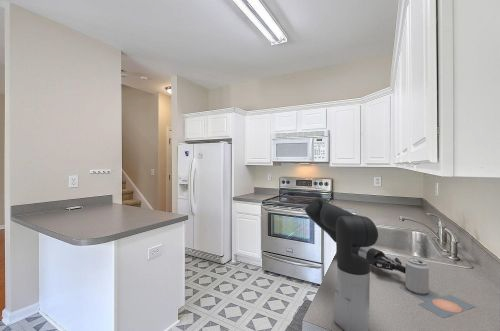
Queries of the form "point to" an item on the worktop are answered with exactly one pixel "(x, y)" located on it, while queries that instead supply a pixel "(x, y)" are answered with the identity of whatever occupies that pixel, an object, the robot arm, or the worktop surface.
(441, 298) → the t mat
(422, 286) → the can
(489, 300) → the worktop surface
